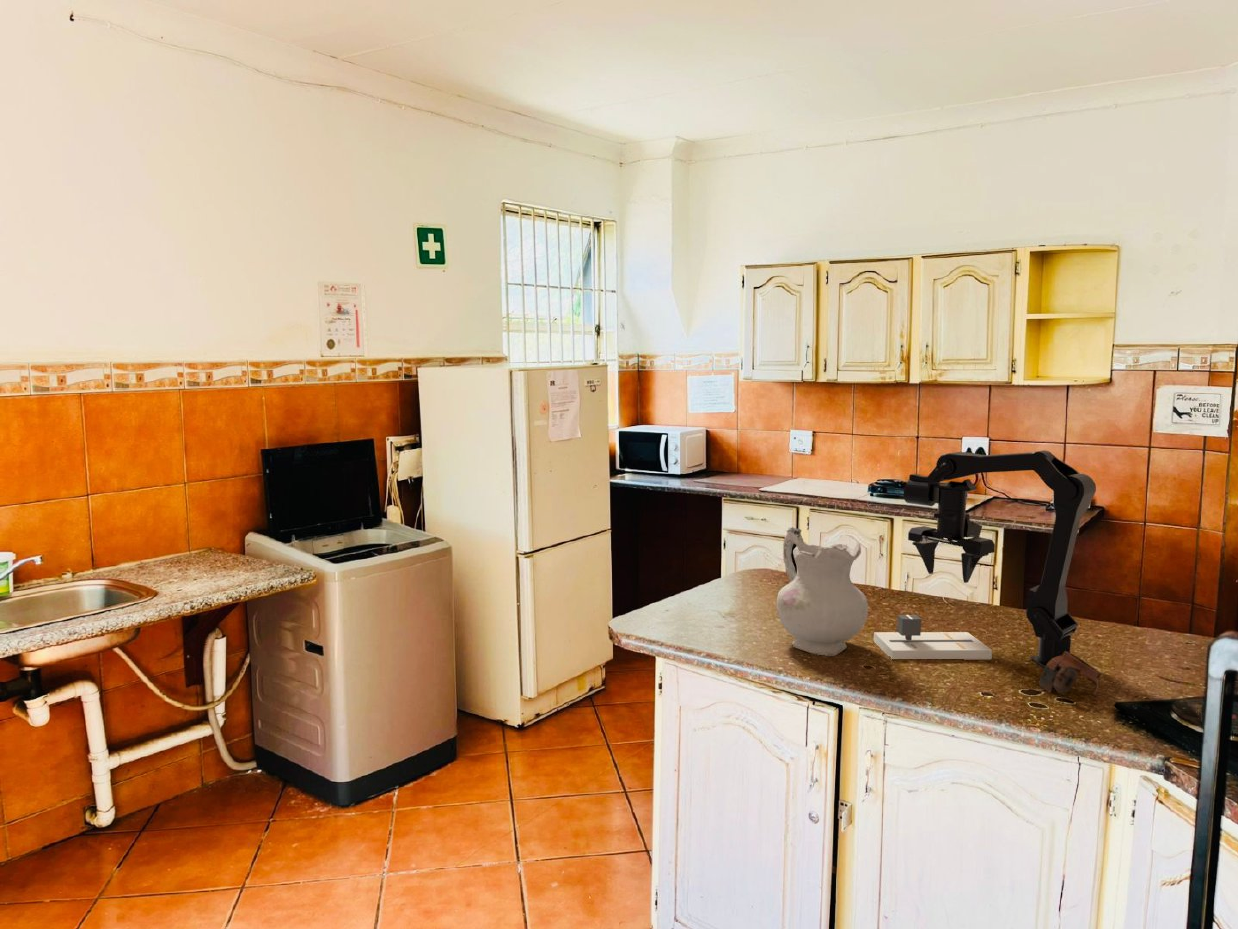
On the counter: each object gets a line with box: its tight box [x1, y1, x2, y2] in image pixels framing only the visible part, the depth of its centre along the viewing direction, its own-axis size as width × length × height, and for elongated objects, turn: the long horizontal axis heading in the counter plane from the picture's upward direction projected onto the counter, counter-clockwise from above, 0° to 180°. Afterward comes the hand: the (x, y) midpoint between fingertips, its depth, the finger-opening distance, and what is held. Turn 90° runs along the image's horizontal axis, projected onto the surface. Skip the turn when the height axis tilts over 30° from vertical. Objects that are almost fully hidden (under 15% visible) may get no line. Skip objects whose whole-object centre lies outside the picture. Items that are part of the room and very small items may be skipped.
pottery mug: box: [1038, 651, 1102, 696], centre depth 165 cm, size 12×10×8 cm
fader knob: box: [896, 614, 922, 640], centre depth 188 cm, size 3×4×5 cm
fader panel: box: [873, 631, 993, 660], centre depth 189 cm, size 12×21×2 cm, turn 92°
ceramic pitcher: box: [776, 527, 869, 657], centre depth 190 cm, size 22×20×25 cm
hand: (948, 578), depth 196 cm, fingers open, 9 cm apart
